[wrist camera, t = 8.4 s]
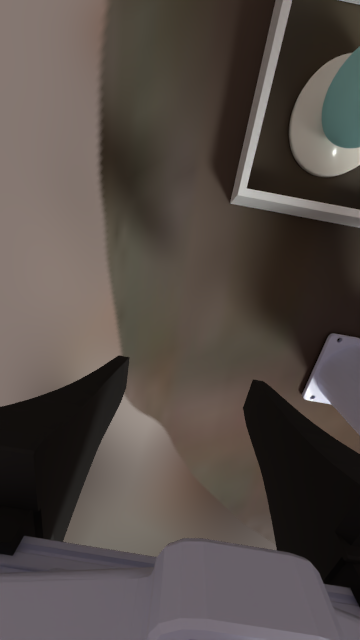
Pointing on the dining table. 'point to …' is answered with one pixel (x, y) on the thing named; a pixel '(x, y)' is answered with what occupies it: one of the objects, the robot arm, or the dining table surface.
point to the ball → (344, 105)
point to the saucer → (318, 128)
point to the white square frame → (252, 135)
